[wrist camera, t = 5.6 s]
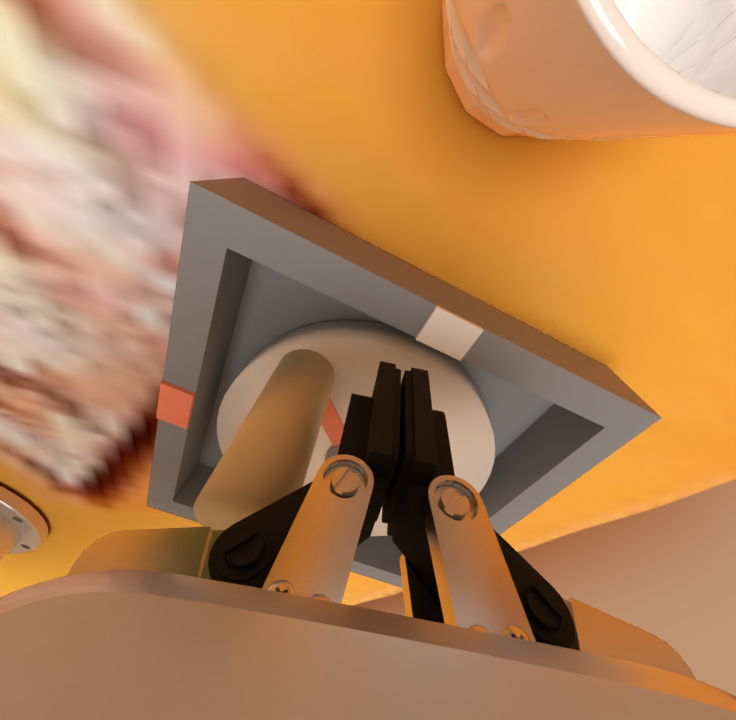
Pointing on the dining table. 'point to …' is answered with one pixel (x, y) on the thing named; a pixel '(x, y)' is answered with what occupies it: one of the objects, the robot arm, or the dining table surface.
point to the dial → (326, 414)
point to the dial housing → (373, 304)
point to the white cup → (594, 66)
